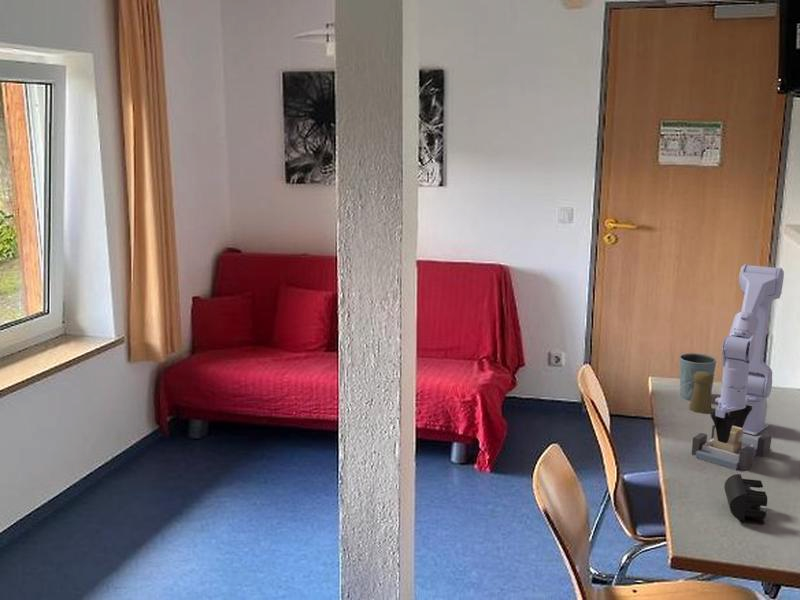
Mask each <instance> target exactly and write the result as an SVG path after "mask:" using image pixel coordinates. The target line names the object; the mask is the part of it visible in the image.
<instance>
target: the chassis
mask: <svg viewBox="0 0 800 600" xmlns="http://www.w3.org/2000/svg"><path fill="white" fill-rule="evenodd" d="M711 428H712V429H711V437H710V440H708V441H707V439H708V434H707V433H703V432H700V433H698V434H697V435H695V436H693V437H692V446H691V456H695V455H696V456H695V458H696V459H698V458H699V459H698V460H701V459H702V460H701V461H704V460H705V461H704V462H708V461H709V463H711V462H712V463H711V464H714V463H715V465H718V464H719V466H721V465H722V466H721V467H724V466H725V468H728V467H729V468H728V469H731V468H732V470H734V471H736V470H737V469H739V470H742V471H746V470H747V469H749V468H750V467H751V466H752V465H753V461H754V460H753V459H754V457H756V456H760V457H765V456H766V455H767V454H769V453H770V451H771V445H772V434H769V433H766V432H765V433H763V434H762V435H760V436H759V437H758V438H757V439H755V438H751V437H746V436H743V435H742V445H741V450H739V451H738V452H736V453H731V452H728V451H724V450H721V449H717V448H714V447H713V439H714V428H716V427H715V424H714V423H713V425H712V427H711Z"/></svg>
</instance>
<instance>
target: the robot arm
mask: <svg viewBox="0 0 800 600" xmlns="http://www.w3.org/2000/svg"><path fill="white" fill-rule="evenodd" d="M784 273H785V272H784V270H783V268H782V267H772V266H771V267H770V266H759V265H753V264H752V265H749V264H747V263H745V264H743V265H742V266H741V268H740V272H739V278H738V284H739V287H740V290H741V292H742V294H743V296H744V297H743V301H742V306H741V311H739V312H737V313H736V314H734V317H733V321H732V323H731V327H730V331H729V333H728V337H727V336H726V337H724V339H723V341H722V346H721V357H722V358H721V359H722V361H721V365H722V367H723V368H722V378H721V389H720V396H719V397H717V398H715V401H714V402H715V403H718V405H717V407H716V408H715V410H714V411H711V412H710V417H711V419H712V421H713V425H714V424H715V427H716V432H717V438H718V441H719V442H723V443H727V442H728V440H729V436H730V431H731V428H732V426H737V427H740V428H743V434H749V435H751V436H757V434H759V433H761V432H762V431H764V430H765V429H766V428H768V427H769V423H766V420H767V419H766V417H767V411H768V409H767V408H768V401H767V399H768V398H770V396H771V392H772V385H773V370H772V368H771V367H770V366H769V365H768V364H767V363H766V362H764V352H765V346H766V339H767V331H768V325H769V316H770V311H771V310H770V309H771V305H772V303H773V301H774V300H779V299H781V295H782V293H783V292H782V291H783V287H784V286H783V285H784V284H783V283H784V275H785V274H784Z"/></svg>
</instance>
